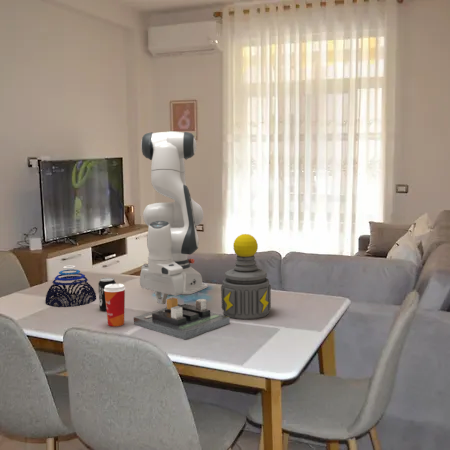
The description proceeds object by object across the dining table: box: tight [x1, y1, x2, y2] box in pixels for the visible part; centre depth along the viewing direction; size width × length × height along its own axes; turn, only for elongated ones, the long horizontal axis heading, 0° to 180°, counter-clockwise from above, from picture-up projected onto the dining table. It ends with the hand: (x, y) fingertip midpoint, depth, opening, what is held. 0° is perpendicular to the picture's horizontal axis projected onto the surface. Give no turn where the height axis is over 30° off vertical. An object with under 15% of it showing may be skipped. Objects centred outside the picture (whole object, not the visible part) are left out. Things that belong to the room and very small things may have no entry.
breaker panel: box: [133, 298, 231, 340], centre depth 198 cm, size 22×26×8 cm
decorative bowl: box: [44, 265, 97, 308], centre depth 232 cm, size 20×20×14 cm
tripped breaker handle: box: [166, 297, 179, 310], centre depth 201 cm, size 3×2×4 cm
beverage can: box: [98, 277, 117, 312], centre depth 218 cm, size 7×7×12 cm
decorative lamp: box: [220, 233, 272, 320], centre depth 209 cm, size 19×19×30 cm
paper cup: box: [104, 283, 126, 328], centre depth 199 cm, size 8×8×14 cm
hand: (161, 303), depth 205 cm, fingers closed
